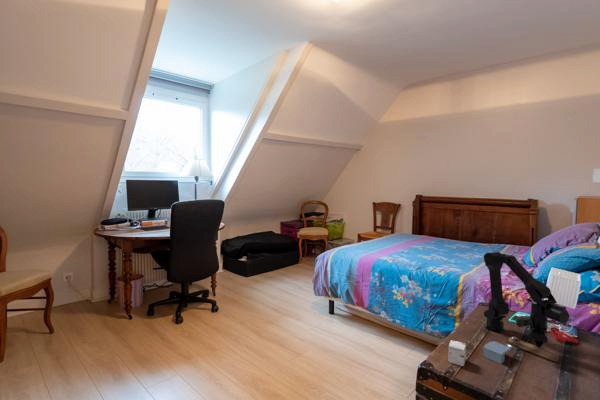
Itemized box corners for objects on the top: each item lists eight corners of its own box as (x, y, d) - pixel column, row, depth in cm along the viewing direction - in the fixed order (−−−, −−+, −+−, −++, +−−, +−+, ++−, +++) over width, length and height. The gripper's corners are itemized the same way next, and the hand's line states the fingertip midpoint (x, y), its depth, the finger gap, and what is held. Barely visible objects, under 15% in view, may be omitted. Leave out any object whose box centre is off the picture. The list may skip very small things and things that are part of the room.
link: (507, 343, 145) (507, 339, 145) (511, 340, 147) (511, 336, 147) (555, 362, 130) (555, 357, 130) (559, 359, 132) (559, 354, 132)
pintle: (502, 344, 146) (502, 336, 145) (509, 340, 149) (510, 332, 149) (519, 351, 140) (519, 343, 139) (526, 346, 143) (526, 338, 143)
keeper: (480, 354, 138) (480, 345, 137) (490, 348, 142) (490, 339, 142) (500, 363, 131) (501, 354, 130) (511, 357, 135) (511, 347, 135)
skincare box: (448, 362, 133) (448, 345, 132) (450, 355, 138) (450, 339, 137) (464, 367, 129) (464, 349, 129) (465, 359, 134) (466, 343, 134)
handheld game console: (539, 319, 171) (539, 316, 171) (530, 328, 161) (530, 325, 161) (518, 313, 179) (518, 310, 179) (508, 321, 169) (508, 319, 169)
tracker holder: (582, 339, 147) (575, 340, 142) (578, 347, 148) (570, 349, 142) (552, 323, 157) (544, 324, 152) (549, 331, 158) (541, 332, 152)
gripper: (518, 302, 150) (517, 334, 152) (515, 316, 136) (514, 351, 137) (547, 308, 144) (546, 341, 145) (548, 323, 129) (547, 360, 130)
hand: (538, 347), depth 139 cm, fingers closed
